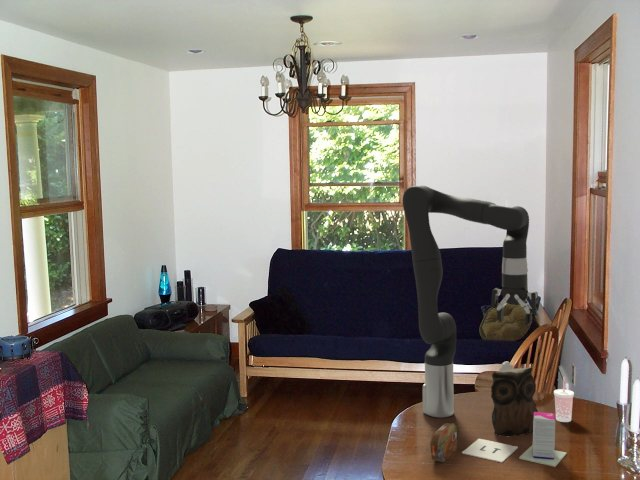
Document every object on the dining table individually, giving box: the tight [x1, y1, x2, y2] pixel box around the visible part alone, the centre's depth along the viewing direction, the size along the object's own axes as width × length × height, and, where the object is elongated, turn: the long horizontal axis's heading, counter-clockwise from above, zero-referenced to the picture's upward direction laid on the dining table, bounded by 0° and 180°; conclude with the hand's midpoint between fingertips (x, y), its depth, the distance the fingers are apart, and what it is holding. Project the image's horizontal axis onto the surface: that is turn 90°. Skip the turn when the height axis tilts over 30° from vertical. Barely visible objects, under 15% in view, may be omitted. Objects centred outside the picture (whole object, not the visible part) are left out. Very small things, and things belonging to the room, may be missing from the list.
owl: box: [490, 366, 539, 438], centre depth 223 cm, size 13×13×20 cm
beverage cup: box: [553, 376, 575, 423], centre depth 232 cm, size 6×6×14 cm
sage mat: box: [518, 444, 568, 468], centre depth 205 cm, size 10×10×1 cm
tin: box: [430, 422, 459, 463], centre depth 207 cm, size 15×3×8 cm, turn 148°
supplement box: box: [532, 411, 556, 460], centre depth 205 cm, size 6×6×12 cm
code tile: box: [461, 438, 519, 463], centre depth 210 cm, size 12×12×1 cm
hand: (514, 323), depth 227 cm, fingers open, 8 cm apart
